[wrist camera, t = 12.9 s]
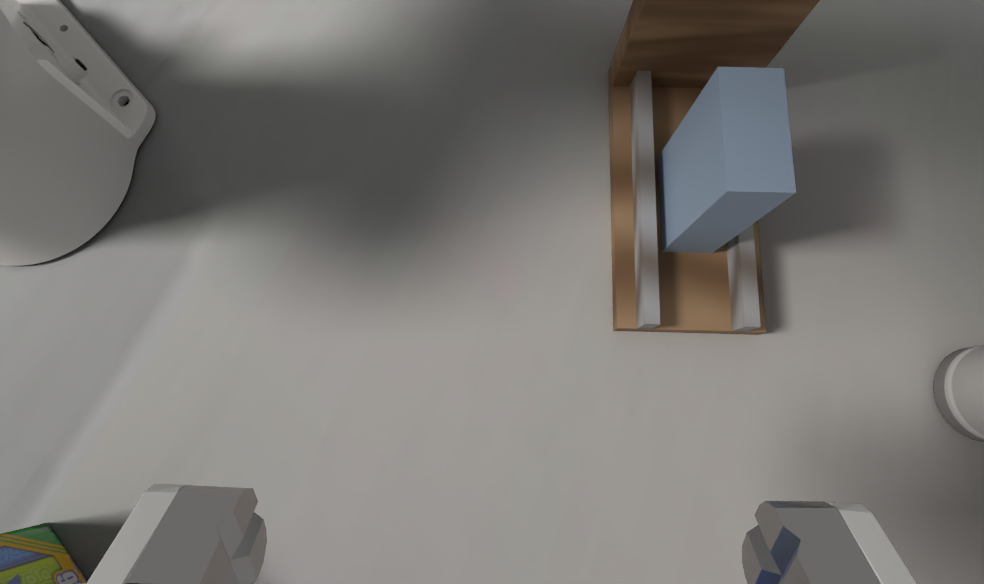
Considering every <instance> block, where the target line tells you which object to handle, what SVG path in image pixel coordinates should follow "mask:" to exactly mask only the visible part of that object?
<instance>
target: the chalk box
mask: <svg viewBox="0 0 984 584" xmlns="http://www.w3.org/2000/svg"><path fill="white" fill-rule="evenodd" d="M87 582H88V581H87V580H86V579H85V577H84V576H83V574H82V573H81V571H80V570H79V569H78V567H77V566H76V565H75V562H74V561H73V560H72V558H71V557H70V555H69V554H68V552H67V551H66V549H65V548H64V547H63V546H62V543H61V542H60V541H59V539H58V538H57V537H56V534H54V533H53V530H52V529H51V528H50V526H49V525H48V524H47V523H44V524H40V525H36V526H32V527H28V528H24V529H19V530H15V531H11V532H6V533H2V534H0V584H76V583H87Z"/></svg>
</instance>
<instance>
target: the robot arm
mask: <svg viewBox="0 0 984 584" xmlns="http://www.w3.org/2000/svg"><path fill="white" fill-rule="evenodd" d="M128 101H129V103H128V105H126V106H124V104H125V103H126V102H128ZM155 117H156V114H155V110H154V108H153V106H152V105H151V104H150V103H149V102H148V100H147V99H146V98H145V97H144V96H143V95H142V94H141V92H140V91H139V90H138V89H137V88H136V87H135V86H134V84H133V83H132V82H131V81H130V80H129V79H128V78H127V76H126V75H125V74H124V73H123V72H122V71H121V70H120V69H119V67H118V66H117V65H116V64H115V63H114V62H113V61H112V59H111V58H110V57H109V56H108V55H107V54H106V53H105V51H104V50H103V49H102V48H101V47H100V46H99V45H98V43H97V42H96V41H95V40H94V39H93V38H92V37H91V35H90V34H89V33H88V32H87V31H86V30H85V29H84V27H83V26H82V25H81V24H80V23H79V22H78V21H77V19H76V18H75V17H74V16H73V15H72V14H71V13H70V11H69V10H68V9H67V8H66V7H65V6H64V5H63V4H62V2H61V1H60V0H0V265H9V266H21V265H31V264H37V263H42V262H45V261H49V260H52V259H55V258H58V257H60V256H62V255H65V254H67V253H69V252H71V251H73V250H74V249H76V248H78V247H79V246H81V245H82V244H84V243H85V242H87V241H88V240H89V239H91V238H92V237H93V236H94V235H96V234H97V233H98V232H99V231H100V230H101V229H102V228H103V227H104V226H105V225H106V224H107V223H108V221H109V220H110V219H111V218H112V216H113V215H114V214H115V212H116V211H117V209H118V208H119V206H120V204H121V203H122V201H123V199H124V197H125V195H126V192H127V190H128V187H129V184H130V181H131V177H132V172H133V167H134V162H135V157H136V153H137V150H138V148H139V146H140V145H141V143H142V142H143V140H144V139H145V137H146V136H147V134H148V133H149V131H150V129H151V128H152V126H153V123H154V121H155ZM257 503H258V500H257V498H256V495H255V492H254V490H253V488H235V487H214V486H194V485H171V484H154V485H153V486H151V487H150V488H149V489H148V490H147V491H145V492H144V493H143V495H142V496H141V498H140V500H139V501H138V503H137V504H136V506H135V507H134V509H133V511H132V512H131V514H130V515H129V517H128V519H127V520H126V522H125V523H124V525H123V526H122V528H121V530H120V531H119V533H118V534H117V536H116V538H115V539H114V541H113V542H112V544H111V545H110V547H109V549H108V550H107V552H106V553H105V555H104V557H103V558H102V560H101V561H100V563H99V565H98V566H97V568H96V569H95V571H94V572H93V574H92V576H91V577H90V579H89V580H88V582H87V583H76V584H252V583H254V582H255V581H256V580H257V578H258V575H259V573H260V570H261V567H262V564H263V561H264V555H265V549H266V544H267V537H266V527H265V523H264V520H263V519H262V518H261V517H260V516H258V515H257V514H256V513H254V510H255V508H256V505H257ZM755 517H756V520H757V522H758V524H759V525H758V526H756V527H755V528H753V529H751V530H750V531H748V532H747V534H746V537H745V539H744V542H743V545H742V564H743V568H744V573H745V577H746V580H747V583H748V584H917V583H916V581H915V580H914V578H913V577H912V575H911V574H910V572H909V570H908V569H907V567H906V566H905V564H904V563H903V561H902V559H901V558H900V556H899V555H898V553H897V552H896V550H895V548H894V547H893V545H892V544H891V542H890V541H889V539H888V537H887V536H886V534H885V533H884V531H883V530H882V528H881V526H880V525H879V523H878V522H877V520H876V519H875V517H874V515H873V514H872V512H871V511H870V510H869V509H868V508H867V507H866V506H864V505H863V504H859V503H826V502H808V501H765V502H763V503H762V504H760V505H759V506H758V509H757V511H756V513H755Z"/></svg>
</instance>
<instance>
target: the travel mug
mask: <svg viewBox="0 0 984 584" xmlns="http://www.w3.org/2000/svg"><path fill="white" fill-rule="evenodd" d="M933 390H934V398H935V401H936V404H937V407H938V408H939V410H940V412H941V414H942V416H943V417H944V418H945V419H946V421H947V422H948V423H949V424H950V425H951V426H952V427H953V428H954V429H955V430H957V431H958V432H960V433H961V434H963V435H964V436H967V437H969V438H971V439H974V440H978V441H983V442H984V346H978V347H971V348H965V349H960V350H957V351H955V352H953V353H951V354H950V355H948V356H947V357H946V358H945V359H944V360H943V361H942V362H941V363H940V365H939V367H938V369H937V371H936V373H935V377H934V384H933Z"/></svg>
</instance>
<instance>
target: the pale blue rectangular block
mask: <svg viewBox="0 0 984 584" xmlns="http://www.w3.org/2000/svg"><path fill="white" fill-rule="evenodd" d="M658 178H659V200H660V222H661V244H662V252H688V253H713V252H715V251H716V250H717V249H719V248H720V247H721V246H723V245H724V244H726V243H727V242H728V241H730V240H731V239H733V238H734V237H735V236H737V235H738V234H740V233H741V232H742V231H744V230H745V229H746V228H748V227H749V226H751V225H752V224H753V223H755V222H756V221H758V220H759V219H760V218H762V217H763V216H765V215H766V214H767V213H769V212H770V211H771V210H773V209H774V208H776V207H777V206H778V205H780V204H781V203H783V202H784V201H785V200H787V199H788V198H790V197H791V196H792V195H794V194H795V193H796V185H795V175H794V165H793V155H792V145H791V135H790V125H789V114H788V104H787V94H786V84H785V74H784V68H754V67H717V69H716V70H715V72H714V73H713V75H712V76H711V78H710V79H709V81H708V82H707V84H706V85H705V87H704V88H703V90H702V91H701V93H700V95H699V96H698V98H697V99H696V101H695V102H694V104H693V105H692V107H691V108H690V110H689V111H688V113H687V114H686V116H685V117H684V119H683V120H682V122H681V123H680V125H679V126H678V128H677V129H676V131H675V132H674V134H673V135H672V137H671V138H670V140H669V141H668V143H667V144H666V146H665V147H664V149H663V150H662V152H661V153H660V155H659V156H658Z"/></svg>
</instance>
